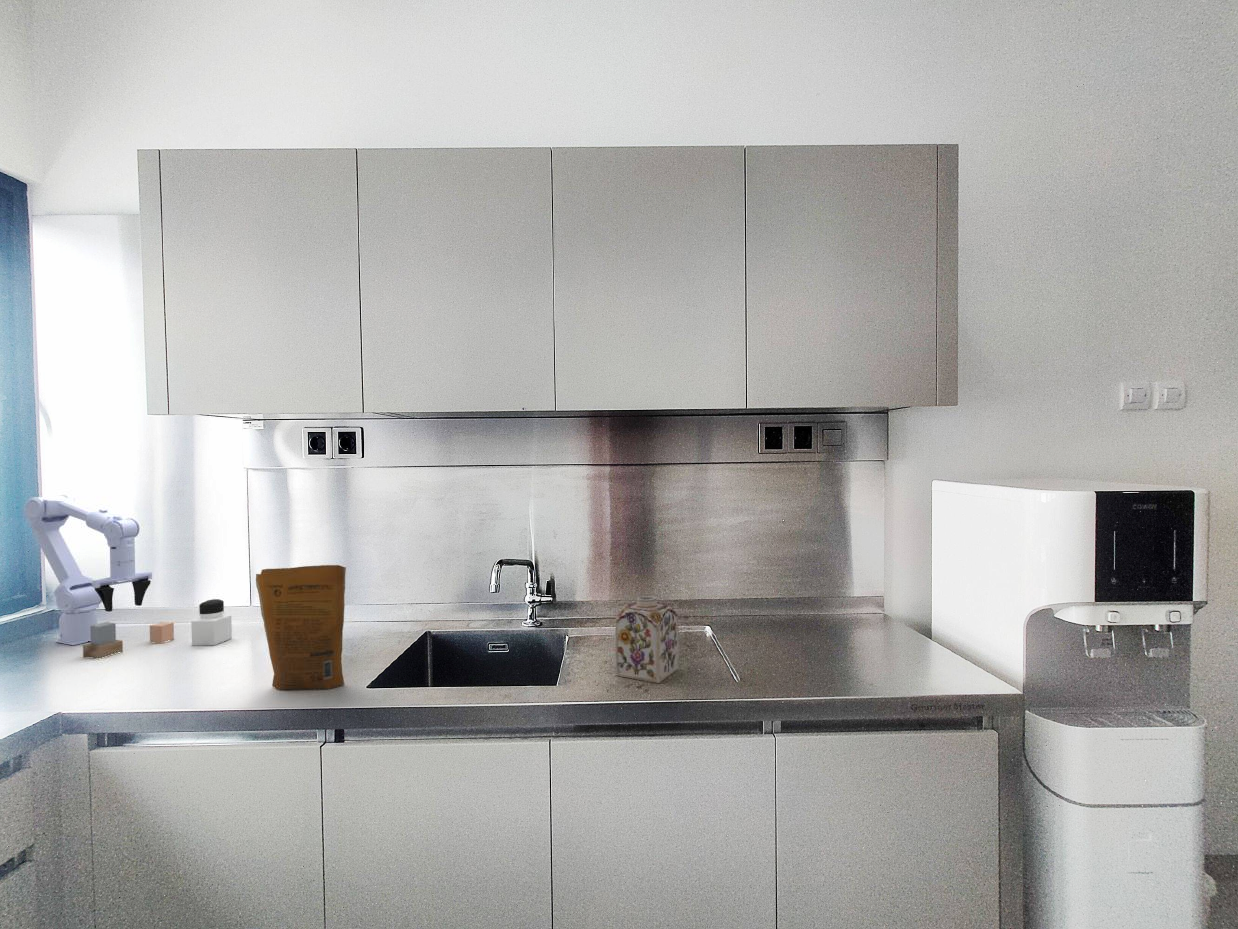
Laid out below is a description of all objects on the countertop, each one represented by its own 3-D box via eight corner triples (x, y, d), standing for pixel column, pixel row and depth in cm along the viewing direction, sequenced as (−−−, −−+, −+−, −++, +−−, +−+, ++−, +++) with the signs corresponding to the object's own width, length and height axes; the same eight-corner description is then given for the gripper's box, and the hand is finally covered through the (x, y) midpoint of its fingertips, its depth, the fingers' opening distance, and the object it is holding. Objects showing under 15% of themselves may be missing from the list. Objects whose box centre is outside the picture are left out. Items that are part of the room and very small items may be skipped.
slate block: (90, 643, 173) (90, 625, 173) (107, 640, 177) (107, 621, 177) (98, 645, 172) (98, 627, 171) (115, 641, 175) (115, 623, 175)
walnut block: (83, 658, 172) (82, 645, 172) (106, 651, 178) (106, 639, 178) (99, 659, 171) (99, 646, 171) (122, 653, 176) (122, 640, 176)
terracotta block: (149, 643, 185) (149, 625, 185) (162, 639, 189) (161, 622, 189) (162, 643, 184) (161, 626, 184) (173, 639, 188) (173, 622, 188)
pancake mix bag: (342, 692, 143) (339, 566, 143) (256, 694, 143) (253, 568, 142) (354, 681, 150) (351, 561, 149) (271, 683, 149) (269, 563, 149)
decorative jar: (659, 684, 145) (657, 605, 144) (614, 676, 150) (613, 600, 150) (680, 669, 155) (679, 594, 155) (637, 662, 161) (636, 590, 160)
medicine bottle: (232, 638, 188) (231, 597, 188) (214, 645, 181) (213, 603, 181) (209, 638, 189) (208, 597, 189) (191, 645, 182) (190, 603, 182)
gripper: (101, 566, 177) (102, 615, 177) (157, 558, 190) (159, 603, 191) (87, 564, 180) (88, 612, 180) (143, 557, 193) (144, 602, 194)
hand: (123, 608), depth 186 cm, fingers open, 7 cm apart
